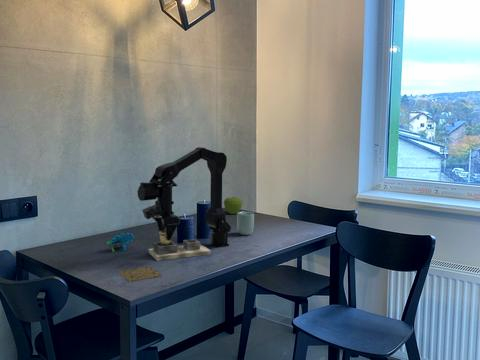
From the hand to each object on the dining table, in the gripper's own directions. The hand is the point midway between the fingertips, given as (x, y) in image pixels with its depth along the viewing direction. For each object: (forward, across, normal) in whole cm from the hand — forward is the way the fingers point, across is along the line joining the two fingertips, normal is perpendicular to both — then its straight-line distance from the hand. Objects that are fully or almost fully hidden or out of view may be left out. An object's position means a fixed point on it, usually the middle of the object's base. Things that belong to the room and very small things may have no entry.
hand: (164, 237), depth 188 cm
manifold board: (+7, 0, +6) cm, 9 cm away
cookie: (+8, +19, -15) cm, 25 cm away
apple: (+7, -66, +61) cm, 90 cm away
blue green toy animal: (+7, -15, -14) cm, 22 cm away
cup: (+7, -19, +45) cm, 49 cm away
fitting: (+5, 0, 0) cm, 5 cm away
